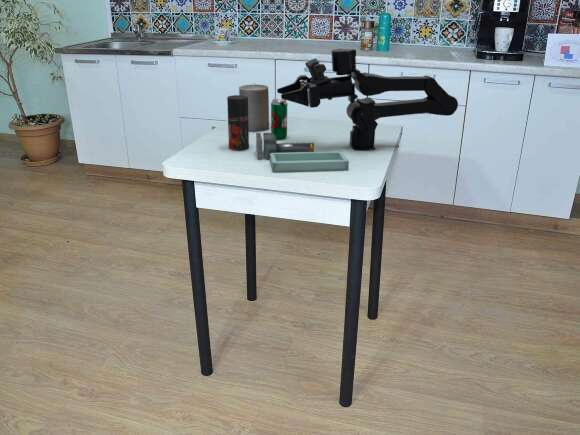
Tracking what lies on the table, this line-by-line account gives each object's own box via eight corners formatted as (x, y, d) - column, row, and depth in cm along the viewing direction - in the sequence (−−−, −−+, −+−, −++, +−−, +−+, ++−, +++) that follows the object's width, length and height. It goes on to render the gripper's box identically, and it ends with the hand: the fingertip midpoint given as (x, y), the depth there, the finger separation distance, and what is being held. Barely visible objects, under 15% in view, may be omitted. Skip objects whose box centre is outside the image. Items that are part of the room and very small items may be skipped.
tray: (341, 159, 153) (341, 151, 152) (348, 170, 145) (348, 161, 144) (269, 161, 151) (269, 153, 150) (272, 172, 143) (272, 163, 142)
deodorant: (253, 148, 163) (252, 97, 157) (238, 152, 159) (236, 100, 153) (239, 144, 167) (238, 94, 161) (224, 147, 163) (222, 97, 157)
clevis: (273, 151, 160) (273, 132, 158) (276, 159, 153) (276, 140, 151) (256, 151, 160) (256, 132, 158) (258, 159, 153) (257, 140, 150)
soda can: (285, 140, 171) (285, 102, 166) (269, 139, 172) (269, 101, 167) (288, 136, 175) (289, 98, 171) (273, 135, 176) (273, 97, 171)
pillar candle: (268, 124, 189) (268, 80, 183) (269, 131, 180) (268, 85, 174) (240, 125, 189) (238, 80, 183) (239, 132, 180) (238, 85, 174)
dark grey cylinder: (312, 152, 160) (312, 141, 158) (314, 156, 157) (314, 144, 155) (264, 153, 158) (264, 142, 157) (265, 157, 155) (265, 145, 154)
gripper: (325, 55, 162) (272, 60, 161) (339, 62, 145) (280, 68, 144) (327, 93, 167) (276, 98, 165) (341, 104, 150) (284, 111, 148)
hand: (279, 93), depth 155 cm, fingers open, 9 cm apart
